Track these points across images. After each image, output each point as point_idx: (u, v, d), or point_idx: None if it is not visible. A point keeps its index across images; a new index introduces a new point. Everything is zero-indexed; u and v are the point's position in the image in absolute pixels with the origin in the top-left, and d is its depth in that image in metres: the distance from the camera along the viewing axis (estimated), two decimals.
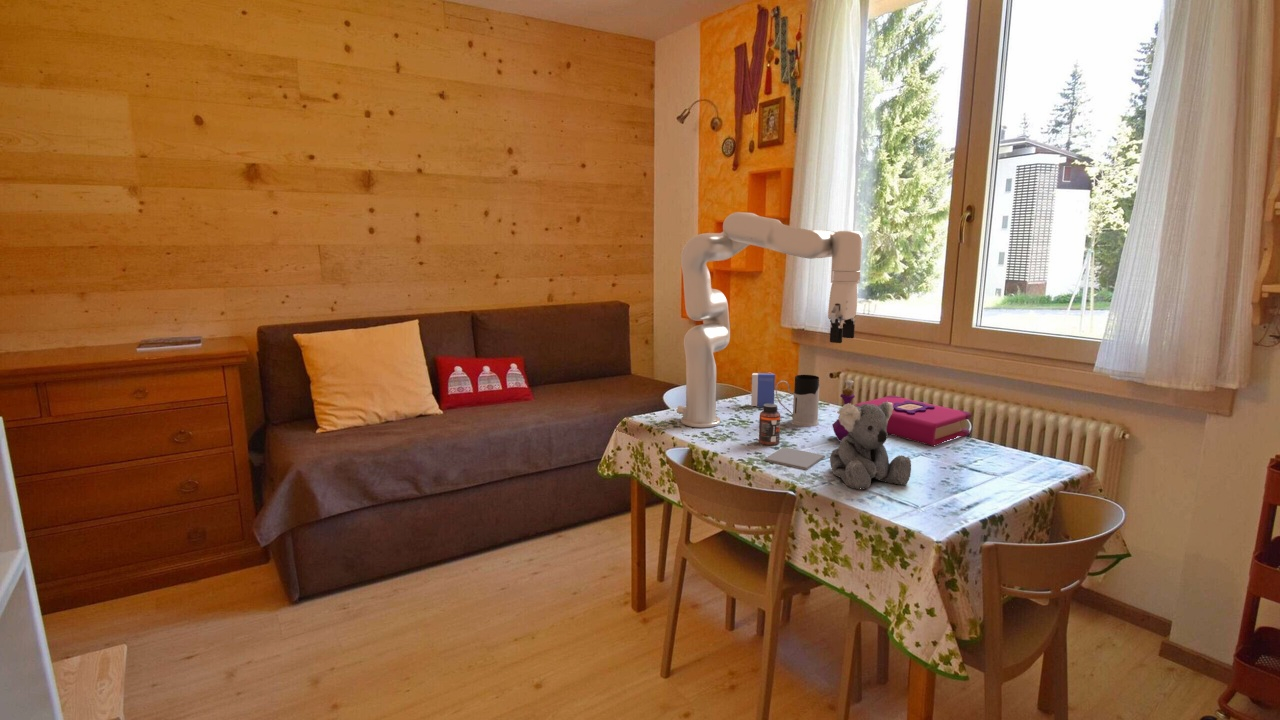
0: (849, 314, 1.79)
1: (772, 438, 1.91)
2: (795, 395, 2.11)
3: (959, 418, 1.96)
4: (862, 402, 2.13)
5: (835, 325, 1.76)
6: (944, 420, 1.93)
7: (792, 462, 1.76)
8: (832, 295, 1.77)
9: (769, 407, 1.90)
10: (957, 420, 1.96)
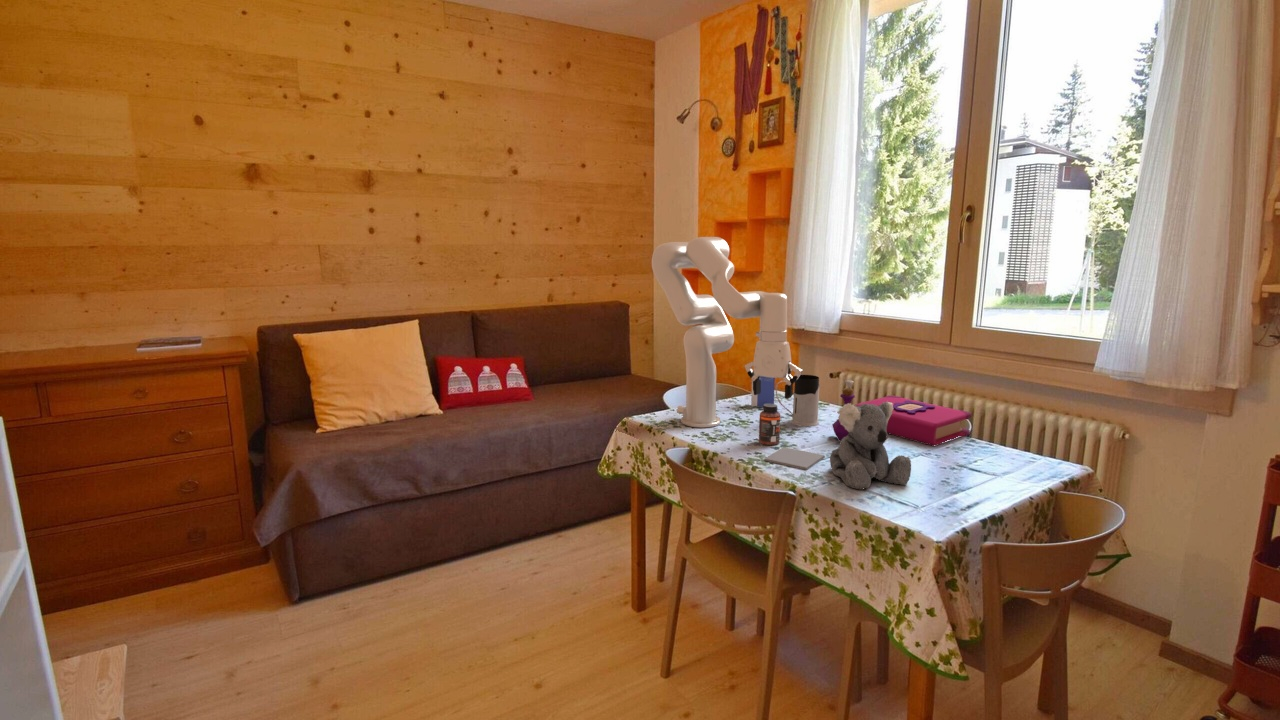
0: None
1: (772, 438, 1.91)
2: (795, 395, 2.11)
3: (959, 418, 1.96)
4: (862, 402, 2.13)
5: (795, 381, 1.86)
6: (945, 420, 1.93)
7: (792, 462, 1.76)
8: (786, 355, 1.85)
9: (769, 407, 1.90)
10: (957, 420, 1.96)
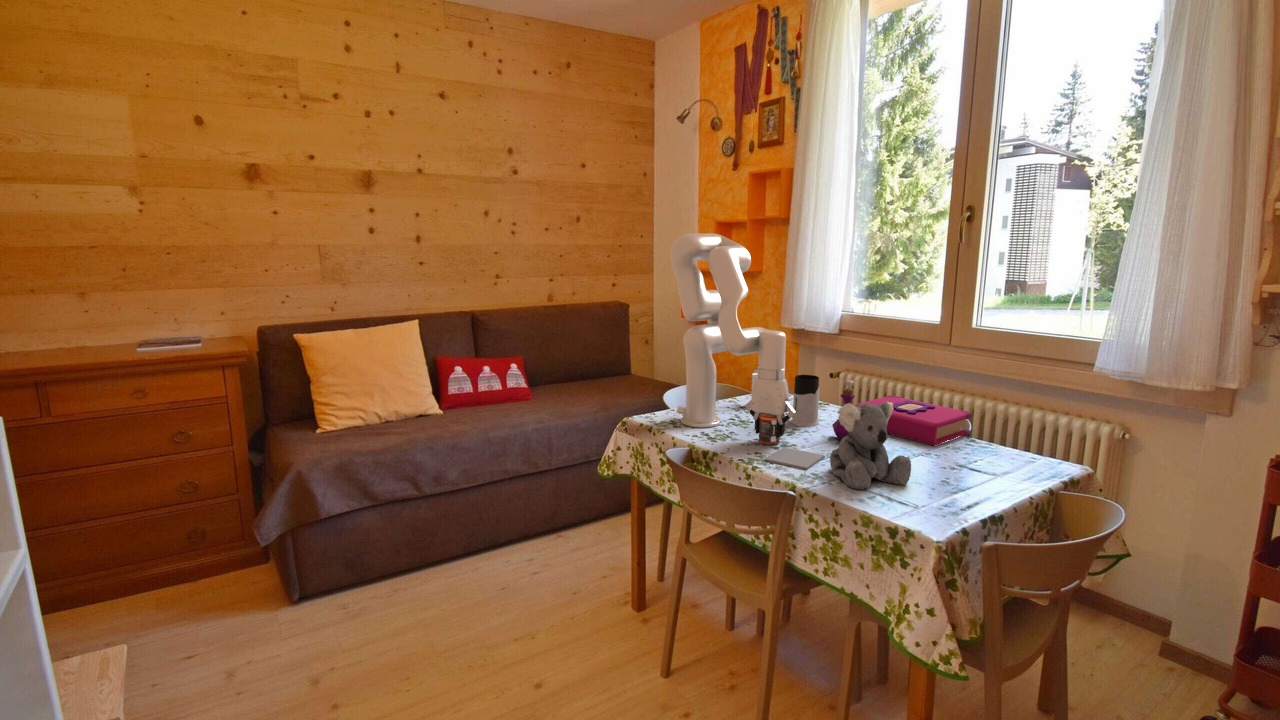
0: None
1: (772, 438, 1.91)
2: (795, 395, 2.11)
3: (960, 418, 1.97)
4: (863, 402, 2.13)
5: (786, 421, 1.90)
6: (945, 420, 1.93)
7: (792, 462, 1.76)
8: (784, 393, 1.87)
9: None
10: (958, 420, 1.96)
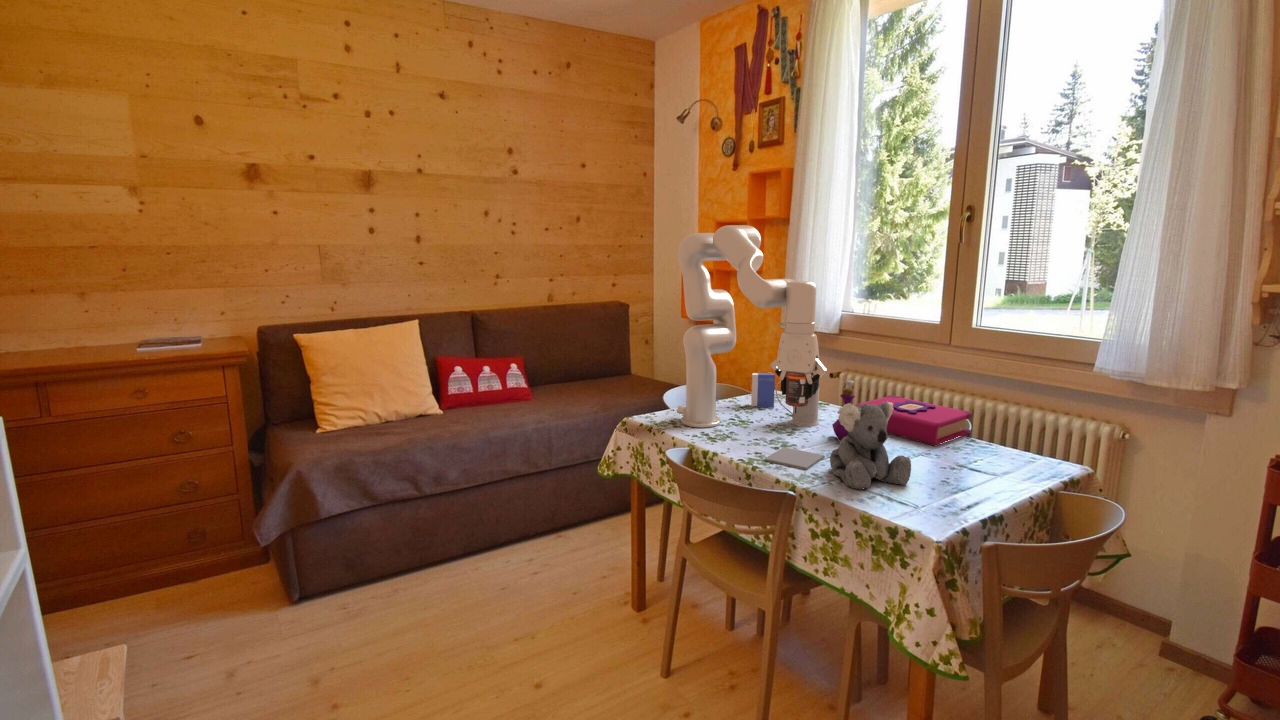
0: None
1: (801, 399, 1.74)
2: None
3: (960, 418, 1.97)
4: (863, 402, 2.13)
5: (816, 380, 1.73)
6: (946, 420, 1.93)
7: (792, 462, 1.76)
8: (814, 349, 1.71)
9: None
10: (959, 420, 1.96)
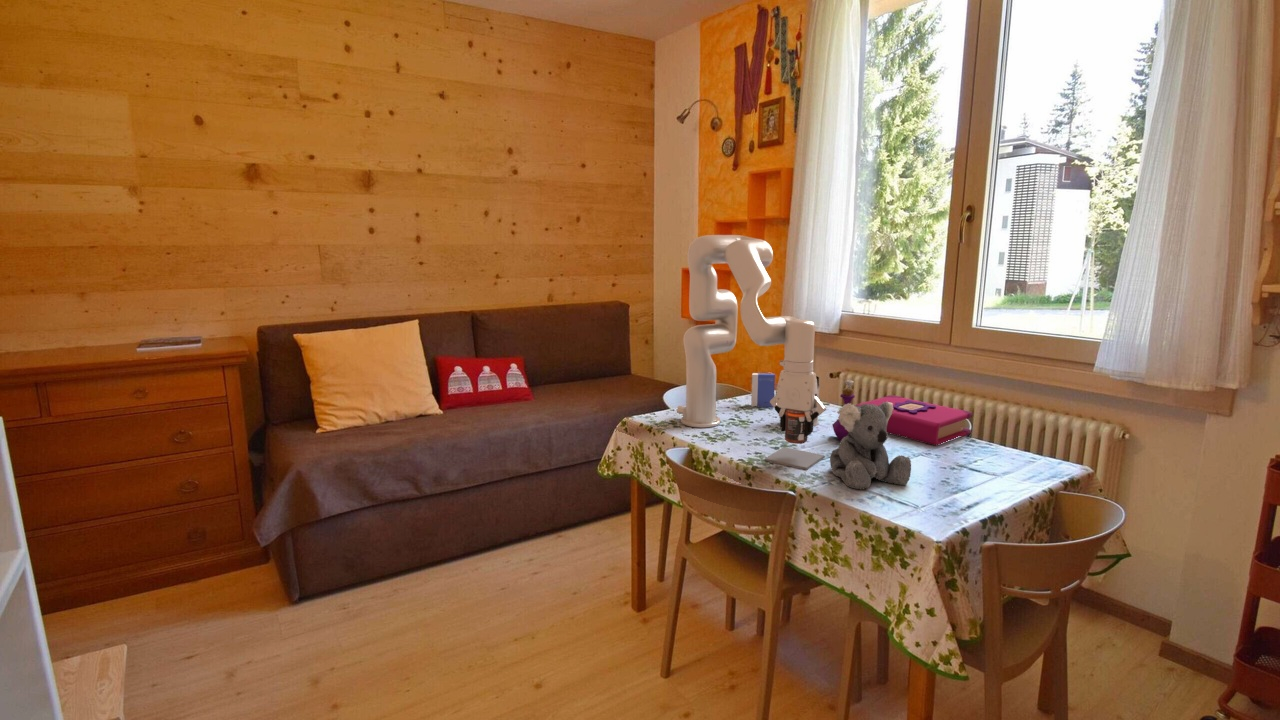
0: None
1: (800, 436, 1.76)
2: None
3: (961, 417, 1.97)
4: (863, 402, 2.13)
5: (815, 417, 1.75)
6: (946, 420, 1.93)
7: (792, 462, 1.76)
8: (813, 387, 1.72)
9: None
10: (959, 419, 1.96)
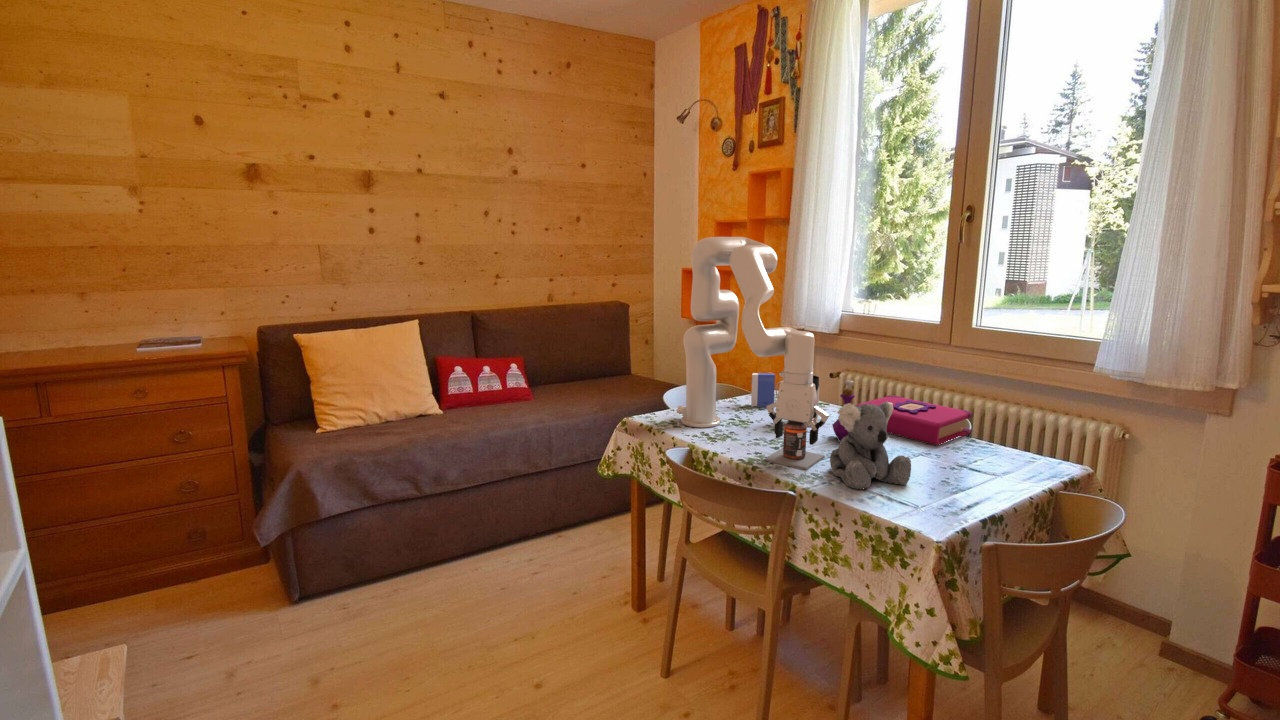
0: None
1: (798, 452, 1.77)
2: None
3: (961, 417, 1.97)
4: (864, 402, 2.13)
5: (820, 426, 1.74)
6: (947, 420, 1.93)
7: (792, 462, 1.76)
8: (812, 399, 1.73)
9: None
10: (959, 419, 1.97)
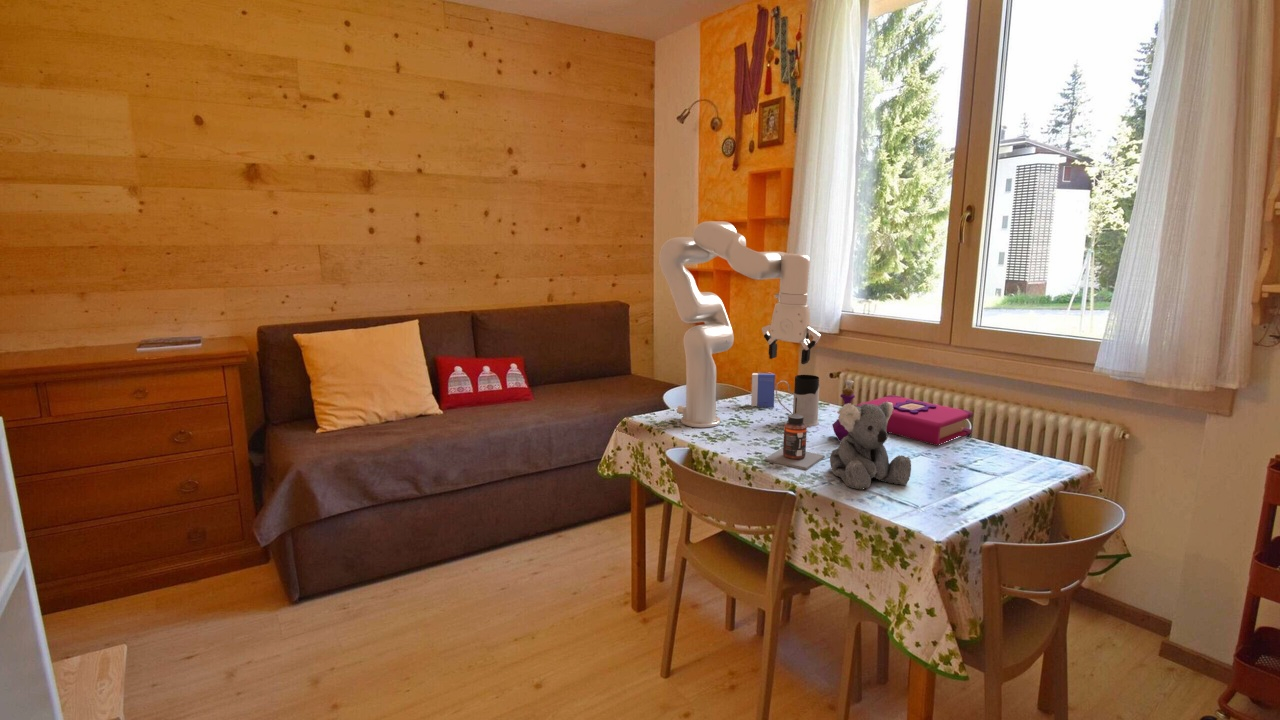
0: None
1: (798, 452, 1.77)
2: (795, 395, 2.11)
3: (962, 417, 1.97)
4: (864, 402, 2.13)
5: (812, 346, 1.81)
6: (948, 419, 1.94)
7: (792, 462, 1.76)
8: (805, 319, 1.79)
9: (795, 418, 1.76)
10: (960, 419, 1.97)
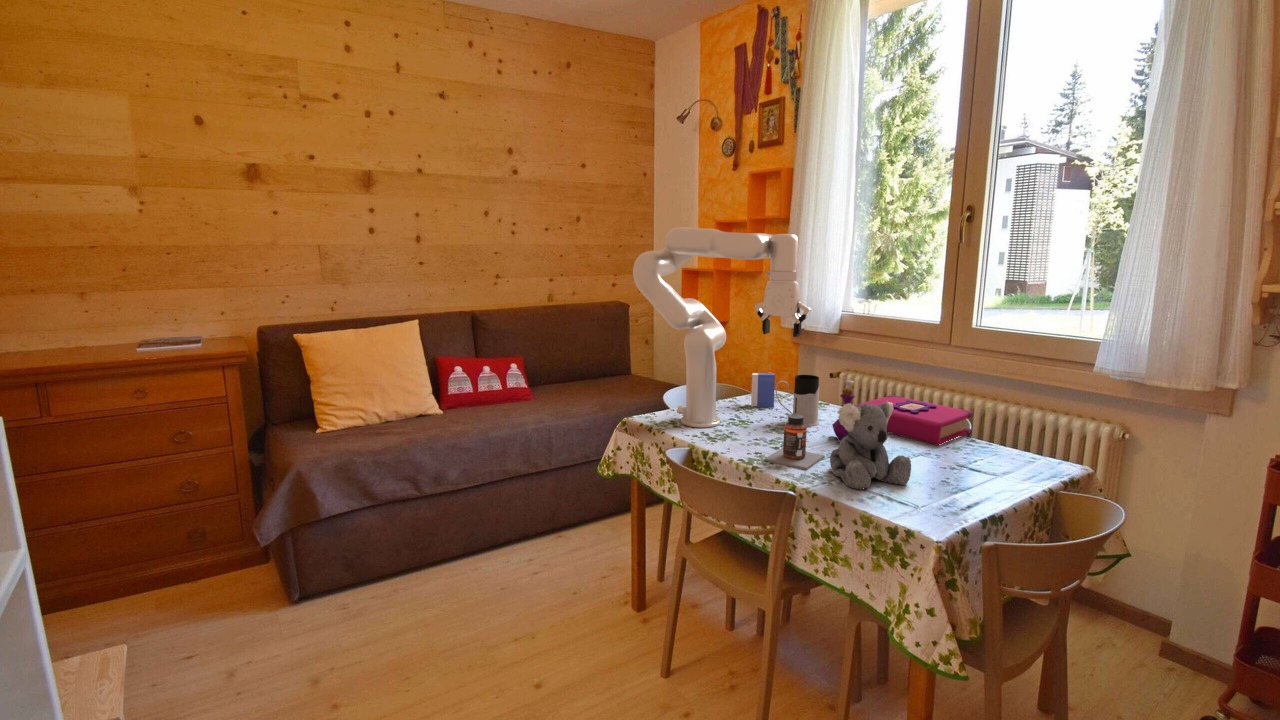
0: None
1: (798, 452, 1.77)
2: (795, 395, 2.11)
3: (962, 417, 1.97)
4: (864, 402, 2.13)
5: (803, 320, 1.93)
6: (948, 419, 1.94)
7: (792, 462, 1.76)
8: (796, 294, 1.91)
9: (795, 418, 1.76)
10: (960, 419, 1.97)
